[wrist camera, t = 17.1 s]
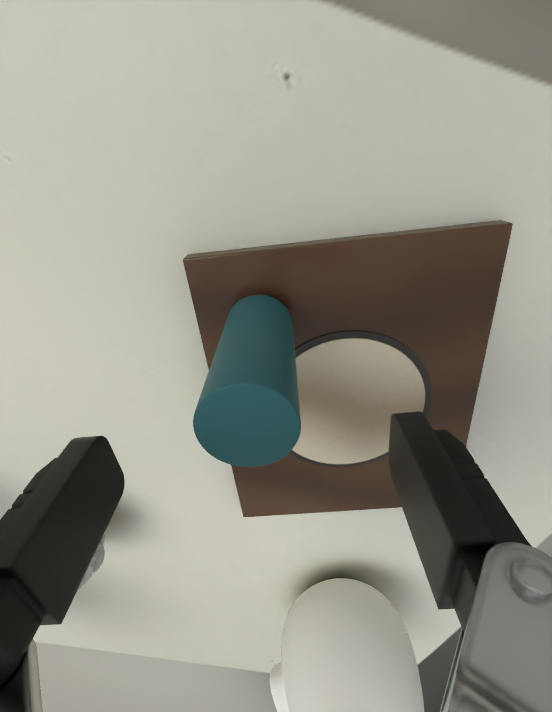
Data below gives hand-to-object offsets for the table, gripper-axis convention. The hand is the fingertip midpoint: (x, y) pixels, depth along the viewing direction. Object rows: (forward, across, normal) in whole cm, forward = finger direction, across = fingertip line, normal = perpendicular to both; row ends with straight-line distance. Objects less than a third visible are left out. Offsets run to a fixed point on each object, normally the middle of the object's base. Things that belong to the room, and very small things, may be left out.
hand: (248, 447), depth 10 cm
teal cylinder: (+10, 0, 0) cm, 10 cm away
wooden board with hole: (+11, -4, +7) cm, 14 cm away
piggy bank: (+11, -3, +30) cm, 32 cm away
